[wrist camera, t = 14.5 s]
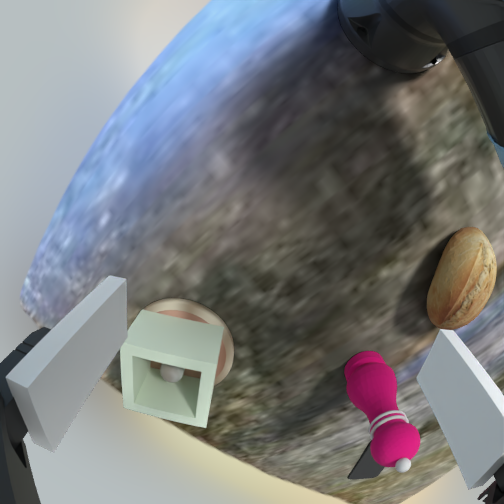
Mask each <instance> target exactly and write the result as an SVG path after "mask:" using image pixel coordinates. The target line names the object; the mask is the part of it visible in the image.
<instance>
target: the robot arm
mask: <svg viewBox="0 0 504 504" xmlns="http://www.w3.org/2000/svg"><path fill="white" fill-rule="evenodd" d="M338 16H339V20H340V23H341V26H342V28H343V30H344V32H345V34H346V36H347V37H348V39H349V40H350V41H351V43H352V44H353V45H354V46H355V47H356V48H357V49H358V50H359V51H360V52H361V53H362V54H363V55H364V56H365V57H367V58H368V59H369V60H371V61H372V62H374V63H376V64H377V65H379V66H381V67H383V68H386V69H388V70H391V71H395V72H399V73H408V74H410V73H419V72H422V71H425V70H427V69H430V68H432V67H434V66H436V65H437V64H438V63H440V62H441V61H442V60H443V59H444V58H445V56H446V55H447V53H448V51H450V53H451V55H452V56H453V58H454V60H455V62H456V64H457V66H458V68H459V70H460V71H461V73H462V75H463V77H464V79H465V81H466V83H467V85H468V87H469V89H470V91H471V93H472V95H473V97H474V100H475V102H476V104H477V106H478V109H479V111H480V113H481V116H482V118H483V121H484V123H485V126H486V129H487V134H488V137H489V139H490V140H491V142H492V143H493V144H494V147H495V149H496V152H497V154H498V157H499V159H500V162H501V164H502V166H503V168H504V0H338ZM127 337H128V332H127V279H124V278H120V277H115V276H111V275H109V276H108V277H107V278H106V279H105V280H104V281H103V282H102V283H100V284H99V285H98V286H97V287H96V288H95V289H94V290H93V291H92V292H91V293H90V294H88V295H87V296H86V297H85V298H84V299H83V300H82V301H81V302H80V303H79V304H78V305H77V306H76V307H74V308H73V309H72V310H71V311H70V312H69V313H68V314H67V315H66V316H65V317H64V318H63V319H62V320H61V321H60V322H59V323H58V324H57V325H56V326H55V327H54V328H53V329H52V330H51V329H48V328H46V327H43V328H41V329H39V330H37V331H35V332H33V333H31V334H30V335H29V336H28V337H27V338H26V339H25V340H24V341H23V343H21V344H20V345H18V346H17V347H16V350H13V351H12V352H11V353H10V354H9V355H8V356H7V357H6V358H5V359H4V360H3V361H2V362H1V363H0V504H41V503H40V500H39V496H38V493H37V490H36V486H35V483H34V479H33V475H32V472H31V467H30V464H29V459H28V455H27V450H26V446H25V443H24V441H23V438H24V436H25V435H26V433H27V432H29V434H30V436H31V438H32V441H33V442H34V443H35V444H37V445H39V446H41V447H43V448H45V449H47V450H49V451H51V452H54V451H55V450H56V448H57V447H58V445H59V443H60V442H61V440H62V438H63V437H64V435H65V433H66V432H67V430H68V428H69V427H70V425H71V423H72V422H73V420H74V419H75V417H76V415H77V414H78V412H79V410H80V409H81V407H82V406H83V404H84V403H85V401H86V399H87V398H88V396H89V395H90V393H91V391H92V390H93V389H94V387H95V385H96V384H97V382H98V381H99V379H100V378H101V376H102V375H103V373H104V372H105V370H106V369H107V367H108V366H109V364H110V363H111V361H112V360H113V358H114V357H115V355H116V354H117V352H118V351H119V349H120V348H121V346H122V345H123V343H124V342H125V340H126V339H127ZM416 379H417V381H418V383H419V385H420V387H421V389H422V391H423V393H424V394H425V396H426V398H427V400H428V402H429V404H430V406H431V408H432V410H433V412H434V414H435V416H436V418H437V421H438V423H439V425H440V427H441V429H442V431H443V433H444V435H445V437H446V439H447V442H448V444H449V446H450V448H451V450H452V452H453V455H454V457H455V459H456V461H457V464H458V466H459V468H460V470H461V473H462V475H463V477H464V480H465V482H466V484H467V487H468V489H472V488H476V487H479V486H482V485H484V484H485V483H486V482H487V481H488V480H489V479H490V478H491V477H492V476H493V475H494V477H495V479H496V480H495V481H494V482H493V483H492V484H491V485H490V486H489V487H488V488H487V489H486V490H485V491H484V492H483V493H482V494H480V496H479V497H478V500H480V499H481V498H482V497H483V496H485V495H486V494H488V496H487V497H486V498H485V499H484V500H483V502H485V504H504V394H503V393H502V392H501V391H500V390H499V388H498V387H497V386H496V384H495V383H494V382H493V380H492V379H491V378H490V376H489V375H488V374H487V372H486V371H485V370H484V368H483V367H482V366H481V364H480V363H479V362H478V361H477V359H476V358H475V357H474V356H473V354H472V353H471V352H470V351H469V349H468V348H467V347H466V346H465V344H464V343H463V342H462V341H461V339H460V338H459V337H458V336H457V335H456V333H455V332H454V331H453V330H444V329H440V331H439V333H438V335H437V337H436V340H435V342H434V344H433V346H432V348H431V350H430V352H429V354H428V356H427V358H426V360H425V362H424V364H423V366H422V368H421V370H420V372H419V374H418V376H417V378H416Z"/></svg>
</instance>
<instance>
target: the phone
mask: <svg viewBox="0 0 504 504" xmlns="http://www.w3.org/2000/svg"><path fill="white" fill-rule="evenodd" d="M371 442H372V440H371ZM371 442H370V443H369V445H368V447H367V448H366V450H365V451H364V453H363V454H362V456H361V458H360V459H359V461H358V462H357V464H356V466H355V467H354V469H353V470H352V472H351V473H350V475H349V476H348V477H349V479H364V478H374V477H376V476H378V475H379V474H380V472H381V471H382V470H383V468H384V467H385V466H382V465H380V464H378V463H377V462H376V461H375V460H374V459H373V457H372V455H371V450H370V445H371Z"/></svg>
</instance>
